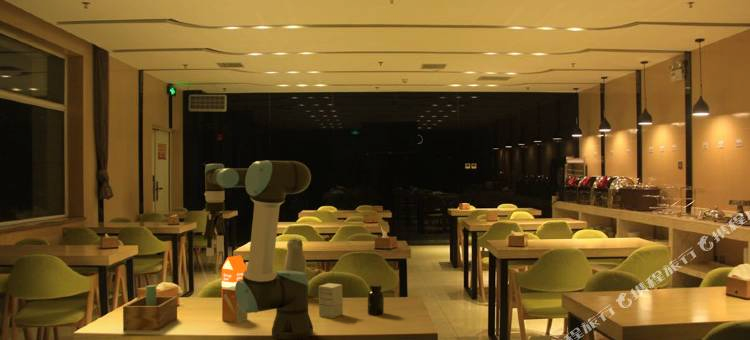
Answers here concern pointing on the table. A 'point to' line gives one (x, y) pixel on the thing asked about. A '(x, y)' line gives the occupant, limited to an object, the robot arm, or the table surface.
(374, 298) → the supplement bottle
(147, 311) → the crate
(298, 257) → the beige tapered cylinder
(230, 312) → the small box
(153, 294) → the peg
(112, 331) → the table surface
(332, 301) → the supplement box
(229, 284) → the orange juice
